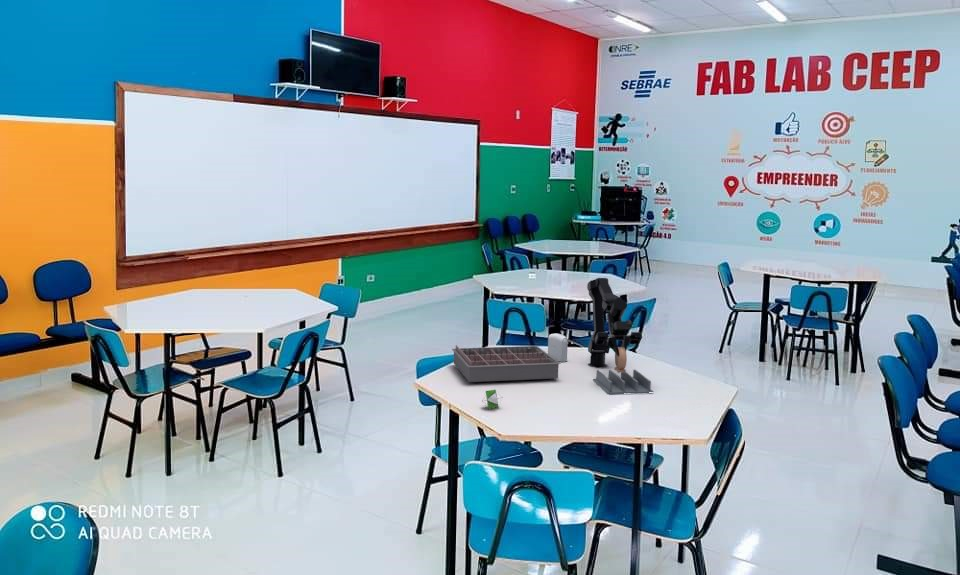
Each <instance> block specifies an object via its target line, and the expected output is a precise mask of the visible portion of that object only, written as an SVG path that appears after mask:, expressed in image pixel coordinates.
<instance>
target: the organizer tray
mask: <svg viewBox="0 0 960 575" xmlns="http://www.w3.org/2000/svg"><path fill="white" fill-rule="evenodd" d="M451 350H452V351H453V365H454V366H455V367H456V369H457V370H458V371H459V372H460V373H461V375H463V377H464V378H465V379H466V381H468V383H476V382H477V383H478V382H479V383H480V382H499V381H501V382H502V381H505V382H506V381H525V380H545V379H546V380H547V379H559V365H561V363H562V362H560V361H557V360H555V359H554V358H553V357H551V356H550V355H549V354H548V352H546V351H544V350H543V349H542V348H541V347H539V346H538V345H522V346H521V345H520V346H517V345H516V346H495V347H494V346H492V347H491V346H489V347H488V346H487V347H464V348H463V347H459V346H458V345H457V344H456V345H455V348H451Z"/></svg>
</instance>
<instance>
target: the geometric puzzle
mask: <svg viewBox="0 0 960 575" xmlns="http://www.w3.org/2000/svg"><path fill="white" fill-rule="evenodd" d="M497 395H498V394H497V389H491V390H485V396H484V397H483V402H485V401H486V405H487V407H488V408H493V409H496V408H495V407H498V408H499V402H500V404H501V402H502V401H498V400H499V399H500V398H501V399H503V398H504V397H503V396H501V395H500V397H498V396H497ZM485 397H486V399H485ZM484 399H485V400H484ZM488 408H487V409H488Z"/></svg>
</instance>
